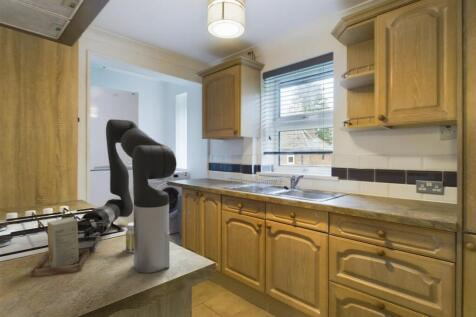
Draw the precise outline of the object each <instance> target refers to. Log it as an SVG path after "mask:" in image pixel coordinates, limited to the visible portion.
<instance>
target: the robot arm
mask: <svg viewBox="0 0 476 317" xmlns="http://www.w3.org/2000/svg"><path fill="white" fill-rule="evenodd" d="M106 122H107V123H106V126H105V138H106V140H105V141H106V150H107V158H108V164H109V175H110V176H109V192H110V193H111V194H112V195H115V196H117V197H119V198H120V199H119V198H110V199H109V200H107V201H106V203H105V204H104V205H103V206H98V207H96V208H94V209H92V210H90V211H88V212H87V211H86V213H84V214H83V215H82V217H81V218H79V219H77V226H78V233H83V237H84V238H88V237H89V236H94V235H97V234H98V233H99V234H100V235H103V234H104V233H106V232H107V231H109V230H110V229H111V224H112V223H114V222H115V221H117V220H118V218H119V217H120V218H128V217H130V216H131V215H132V213H133V222H134V252H133V269H134V270H135V271H136V272H138V273H145V274H146V273H147V274H148V273H150V274H151V273H156V272H159V271H161V270H164V269H167V268H170V253H171V252H170V249H171V248H170V246H171V245H170V241H171V240H170V239H171V238H170V236H171V234H170V213H169V212H170V195H169V193H168V192H166V191H163V190H160V189H156V188H154V187H152V186H150V184H149V180H160V179H161V180H163V179H168V178H170V177H171V176H173V175H174V174H175V172H176V169H177V166H178V164H177V157H176V155H175V153H174V150H172V148H171V147H170V146H167V145H165V144H162V143H160V142H158V141H157V140H155V139H154V138H152V137H151V136H149V135H148V134H147V133H145V131H143V130H141V129H140V128H139V127H138V125H137V124H136V123H135V122H134V121H133V120H128V119H127V120H126V119H116V118H115V119H114V118H113V119H112V118H111V119H108V120H107V121H106ZM116 144H120V147H121V148H122V150H123V151H124V152H125V153H124V154H126V155H127V156H129V158H131V165H132V166H131V168H132V169H131V170H132V188H133V189H132V191H133V192H132V193H133V200H132V197H131V193H130V174H129V171H128V170H129V169H128V168H127V166H126V164H125V163H124V162H123V160H122V159H121V157H120V155H119V153H118V150H117V145H116Z"/></svg>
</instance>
